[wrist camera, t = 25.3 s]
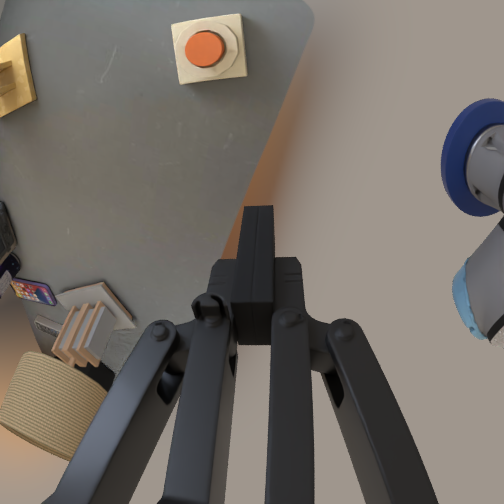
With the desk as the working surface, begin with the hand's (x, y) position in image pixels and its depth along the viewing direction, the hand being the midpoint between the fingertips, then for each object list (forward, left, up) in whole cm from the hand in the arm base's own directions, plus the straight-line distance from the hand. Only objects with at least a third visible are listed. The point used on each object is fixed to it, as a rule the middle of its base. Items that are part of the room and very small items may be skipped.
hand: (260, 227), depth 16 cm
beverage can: (+60, +21, -25) cm, 68 cm away
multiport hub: (+59, +46, -25) cm, 80 cm away
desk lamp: (+40, +35, -25) cm, 59 cm away
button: (+6, -10, -21) cm, 24 cm away
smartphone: (+60, +31, -25) cm, 72 cm away
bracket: (+39, -16, -25) cm, 49 cm away
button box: (+6, -10, -25) cm, 27 cm away
